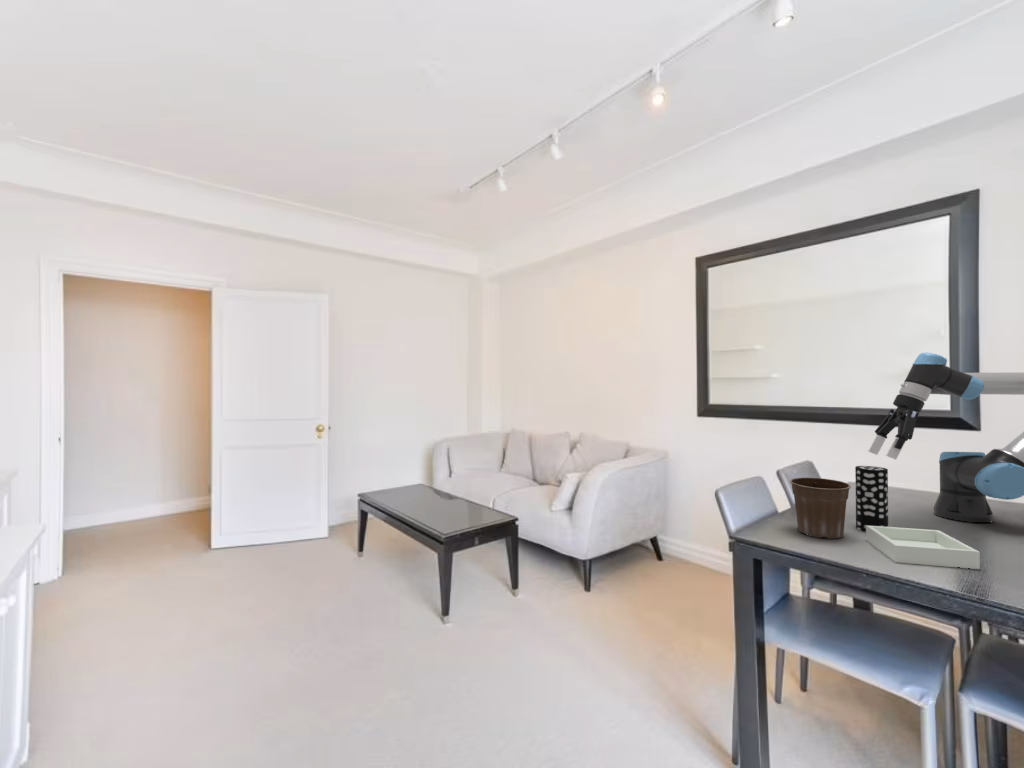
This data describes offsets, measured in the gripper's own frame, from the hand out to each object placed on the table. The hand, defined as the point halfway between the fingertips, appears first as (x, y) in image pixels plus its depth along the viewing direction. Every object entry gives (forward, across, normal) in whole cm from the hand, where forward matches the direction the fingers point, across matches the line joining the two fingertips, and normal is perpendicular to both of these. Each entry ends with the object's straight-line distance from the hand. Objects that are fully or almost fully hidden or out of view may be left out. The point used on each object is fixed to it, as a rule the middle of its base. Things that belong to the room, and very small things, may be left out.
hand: (881, 455), depth 158 cm
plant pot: (+31, +16, -11) cm, 37 cm away
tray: (+23, +28, +8) cm, 37 cm away
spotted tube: (+24, +7, +4) cm, 25 cm away
